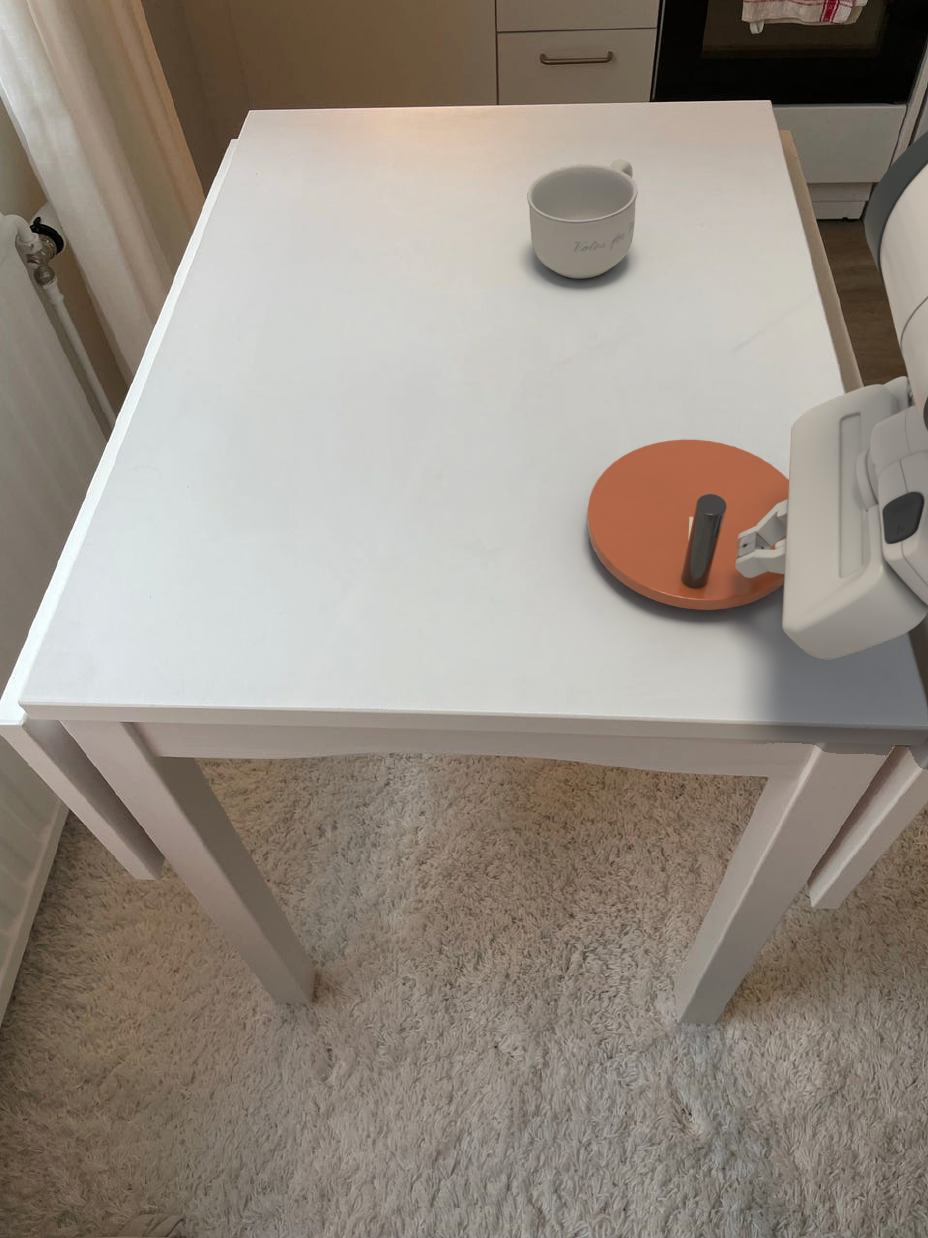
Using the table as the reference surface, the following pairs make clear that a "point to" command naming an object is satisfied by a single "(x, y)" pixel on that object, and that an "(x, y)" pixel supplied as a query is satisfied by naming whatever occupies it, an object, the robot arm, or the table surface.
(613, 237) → the teacup
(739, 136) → the table surface
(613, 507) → the orange turntable with peg
